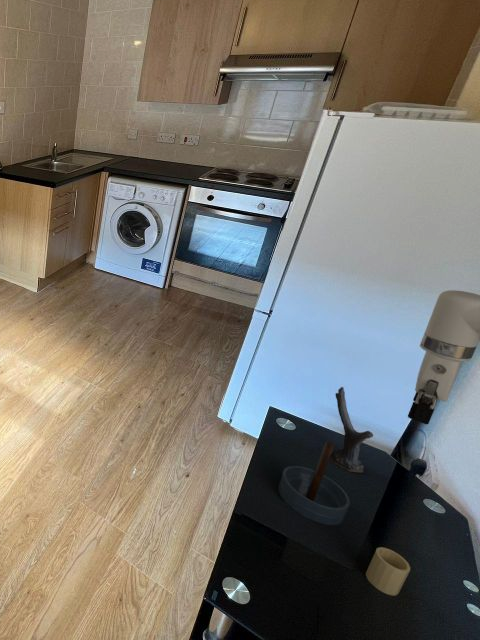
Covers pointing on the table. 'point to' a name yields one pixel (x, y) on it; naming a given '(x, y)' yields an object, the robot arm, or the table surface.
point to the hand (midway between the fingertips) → (420, 412)
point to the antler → (349, 439)
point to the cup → (387, 571)
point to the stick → (320, 470)
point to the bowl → (327, 502)
